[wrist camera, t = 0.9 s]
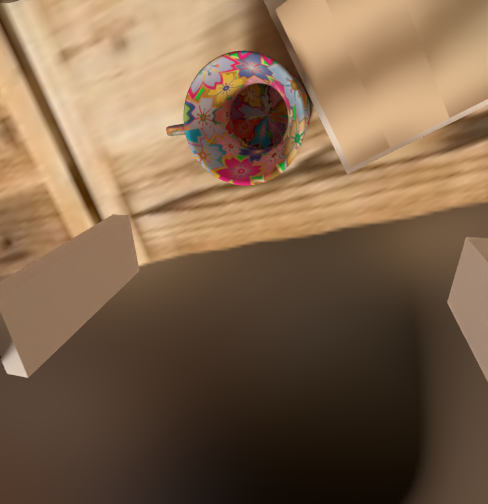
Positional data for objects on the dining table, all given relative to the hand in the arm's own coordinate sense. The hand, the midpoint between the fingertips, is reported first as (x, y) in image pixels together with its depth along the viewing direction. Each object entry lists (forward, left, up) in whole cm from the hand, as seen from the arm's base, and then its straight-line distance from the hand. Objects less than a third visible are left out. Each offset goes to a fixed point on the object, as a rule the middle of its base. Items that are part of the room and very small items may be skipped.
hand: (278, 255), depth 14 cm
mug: (-6, -4, -24) cm, 25 cm away
